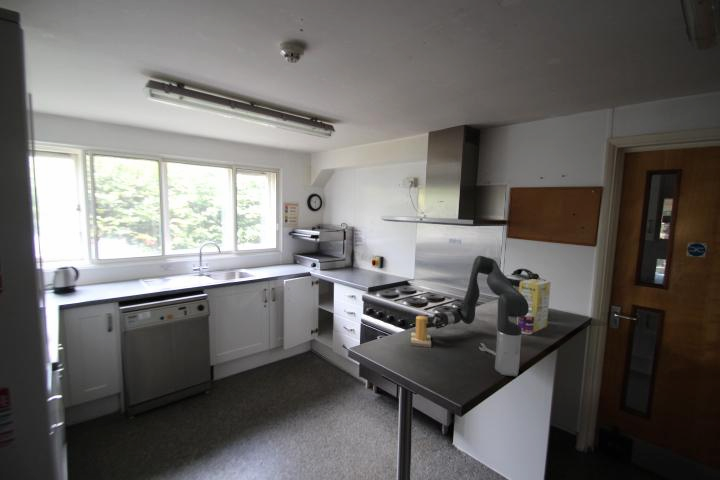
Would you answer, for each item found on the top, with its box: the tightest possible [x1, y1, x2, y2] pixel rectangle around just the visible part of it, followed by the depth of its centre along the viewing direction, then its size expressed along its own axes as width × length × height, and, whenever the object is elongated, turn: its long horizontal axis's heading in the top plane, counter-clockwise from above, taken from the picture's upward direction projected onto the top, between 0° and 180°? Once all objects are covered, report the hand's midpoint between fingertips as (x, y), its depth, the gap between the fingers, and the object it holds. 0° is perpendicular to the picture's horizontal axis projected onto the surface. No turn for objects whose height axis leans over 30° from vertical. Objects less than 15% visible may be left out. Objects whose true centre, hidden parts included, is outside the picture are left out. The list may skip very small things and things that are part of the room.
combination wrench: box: [478, 342, 496, 357], centre depth 148 cm, size 4×1×20 cm
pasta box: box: [516, 279, 551, 333], centre depth 193 cm, size 18×10×28 cm, turn 129°
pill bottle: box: [518, 308, 534, 336], centre depth 182 cm, size 8×8×14 cm
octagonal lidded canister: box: [414, 315, 429, 340], centre depth 164 cm, size 6×6×11 cm
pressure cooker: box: [505, 268, 547, 291], centre depth 219 cm, size 30×28×32 cm
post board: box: [410, 332, 432, 348], centre depth 164 cm, size 14×10×8 cm
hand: (421, 323), depth 164 cm, fingers open, 8 cm apart
